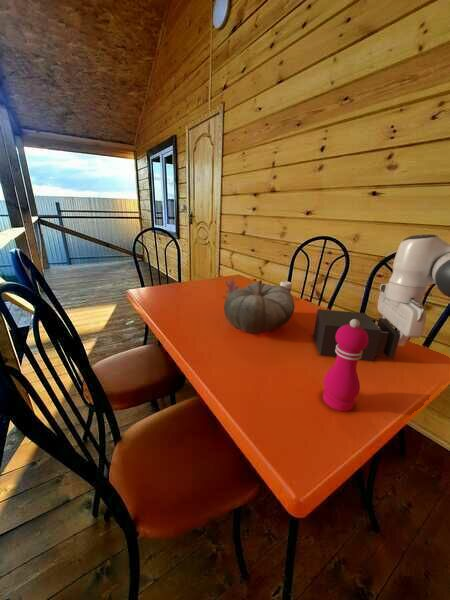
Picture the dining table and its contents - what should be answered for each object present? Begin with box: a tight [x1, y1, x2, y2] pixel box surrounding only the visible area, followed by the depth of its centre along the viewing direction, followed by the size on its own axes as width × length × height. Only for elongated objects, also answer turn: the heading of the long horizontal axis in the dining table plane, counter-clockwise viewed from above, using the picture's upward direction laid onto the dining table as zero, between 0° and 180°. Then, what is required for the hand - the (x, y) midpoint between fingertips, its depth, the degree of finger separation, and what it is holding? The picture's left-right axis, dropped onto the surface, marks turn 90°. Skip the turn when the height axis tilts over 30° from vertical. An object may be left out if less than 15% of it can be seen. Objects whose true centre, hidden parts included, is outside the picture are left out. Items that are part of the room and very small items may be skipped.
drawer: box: [370, 317, 409, 360], centre depth 77 cm, size 18×12×8 cm, turn 80°
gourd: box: [223, 280, 295, 336], centre depth 90 cm, size 25×25×17 cm
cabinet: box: [313, 308, 382, 362], centre depth 78 cm, size 15×13×10 cm
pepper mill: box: [322, 319, 368, 412], centre depth 53 cm, size 7×7×20 cm
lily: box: [223, 275, 240, 298], centre depth 120 cm, size 12×12×10 cm
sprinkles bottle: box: [279, 280, 293, 294], centre depth 103 cm, size 5×5×14 cm
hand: (392, 337), depth 76 cm, fingers open, 8 cm apart
